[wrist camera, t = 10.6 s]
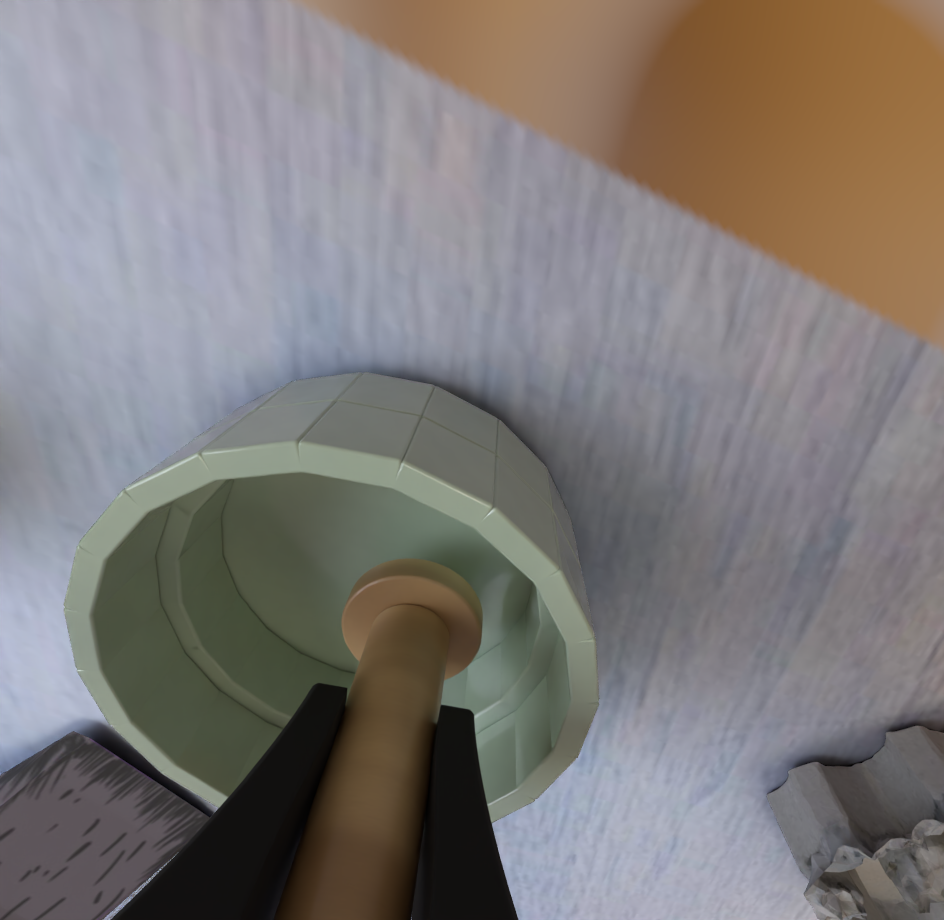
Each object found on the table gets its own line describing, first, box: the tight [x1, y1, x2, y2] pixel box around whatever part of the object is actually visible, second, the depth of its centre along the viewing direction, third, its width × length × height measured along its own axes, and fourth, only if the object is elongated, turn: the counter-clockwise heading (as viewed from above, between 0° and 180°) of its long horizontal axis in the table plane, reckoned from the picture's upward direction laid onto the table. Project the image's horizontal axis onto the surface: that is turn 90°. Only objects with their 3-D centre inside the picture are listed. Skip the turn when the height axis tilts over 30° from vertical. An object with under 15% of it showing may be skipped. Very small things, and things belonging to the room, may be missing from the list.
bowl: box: [64, 372, 599, 823], centre depth 13 cm, size 11×11×5 cm
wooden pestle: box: [273, 558, 483, 920], centre depth 9 cm, size 4×4×11 cm
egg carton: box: [767, 726, 944, 920], centre depth 17 cm, size 11×8×4 cm
